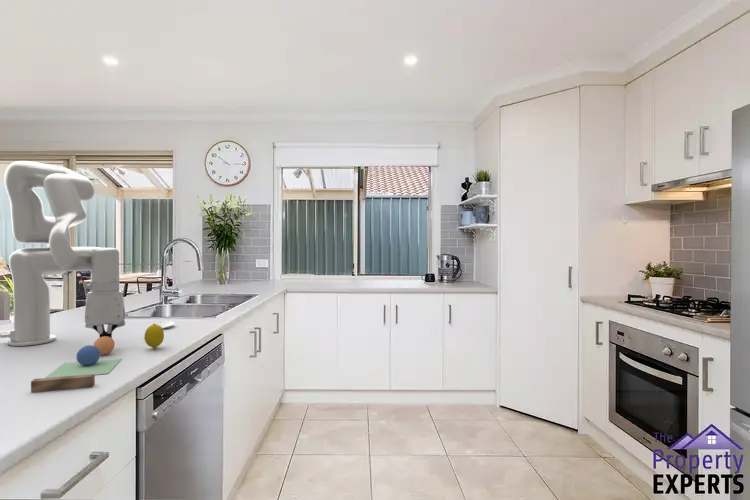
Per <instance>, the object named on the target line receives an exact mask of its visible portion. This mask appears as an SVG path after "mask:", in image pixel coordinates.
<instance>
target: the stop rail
mask: <svg viewBox="0 0 750 500" xmlns="http://www.w3.org/2000/svg"><path fill="white" fill-rule="evenodd" d="M95 377H96V375H95V374H89V375H77V376H64V377H51V378H45V377H42V378H40V377H39V378H33V380H31V381H30V393H41V392H51V391H62V390H63V391H64V390H75V389H76V390H77V389H86V388H93V387H94V386H95V384H96V383H95V379H96V378H95Z"/></svg>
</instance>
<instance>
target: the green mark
mask: <svg viewBox="0 0 750 500" xmlns="http://www.w3.org/2000/svg"><path fill="white" fill-rule="evenodd" d="M121 361H122V358H118V359H117V358H115V359H103V360H102V359H101V360H100V359H99V360H98V361H97V362H96V363H95V364H93V365H90V366H84V365H81V364H80V363H79V362H78V361H71V362H64V363H62V364H61V365H59V366H58V367H57V368H56V369H55V370H53V371H51V372H50V373H49V374H47V375H46V376H45V377H44V378H51V377H64V376H77V375H89V374H95V376H101V375H109V374H110V373H111V372H112V371H113V370H114V369H115V367H116V366H117V365H118V364H119V363H120V362H121Z"/></svg>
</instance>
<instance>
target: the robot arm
mask: <svg viewBox="0 0 750 500" xmlns="http://www.w3.org/2000/svg"><path fill="white" fill-rule="evenodd" d="M3 175H4V177H3V182H4V183H3V184H4V188H5V191H6V194H7V196H8V200H9V204H10V216H11V219H10V220H11V226H12V227H11V228H12V229H11V230H12V234H13V235H12V236H13V238H14V240H15V241H16V242H19V243H20V244H26V245H27V244H30V245H34V244H36V245H37V244H40V245H43V244H45V245H46V246H47V247H25V248H24V247H23V248H20V249H16V250H15V251H13V252H12V253H11V254H10V255H9V259H8V265H9V270H10V274H11V279H12V288H13V289H12V290H13V291H12V292H13V294H12V295H13V329H12V330H3V331H0V338H3V339H5V338H9V339H8V340H7V345H8V346H11V347H25V346H26V347H27V346H35V345H41V344H47V343H51V342H53V341H55V340H56V339H57V336H56V335H55V334H51V302H50V301H51V300H50V299H51V291H50V286H49V284H48V282H47V281H46V280H45V278H44V276H55V275H62V274H65V273H67V272H81V271H85V272H87V271H90V279H91V280H90V283H86V284H85V289H89V291H88V292H87V294H86V295H87V296H86V300H85V310H84V323H85V325H84V327H85V328H86V329H93V330H95V331H96V332H97V333H98V334H99V338H100V337H103V336H108V337H111V338H112V339H113V332H114V331H115V330H116V329H117V328H121V327H124V326H125V325H126V321H125V318H126V317H125V316H126V315H125V314H126V309H125V301H124V295H123V291H122V290H120V251H119V249H117V248H115V247H100V246H72V245H71V243H72V241H71V232H70V228H72V227H75V226H77V225H79V224H82V223H83V222H84V221H85V220H86V219H87V217H88V214H87V212H86V209H85V206H84V204H83V202H88V201H90V200H92V199H93V198H94V194H95V188H94V185H93V183H92V181H91V180H90V179H89V178H88V177H87V176H84V175H82V174H80V173H78V172H77V171H74V170H72V169H69V168H67V167H65V166H61V165H59V166H58V165H54V164H50V163H49V164H48V163H43V162H42V163H41V162H38V161H29V160H18V161H13V162H11V163H10V164H9V165H8V166H7V167H6V170H5V171H4V174H3ZM34 189H42V190H43V191H44V193H45V197H46V199H47V201H48V204H49V207H50V209H51V212H52V214H53V216H46V215H45V212H44V203H43V201H42V199H41V198H40V196H39V195H38V193H37V192H36V191H35V190H34ZM105 325H107V329H105Z"/></svg>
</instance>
